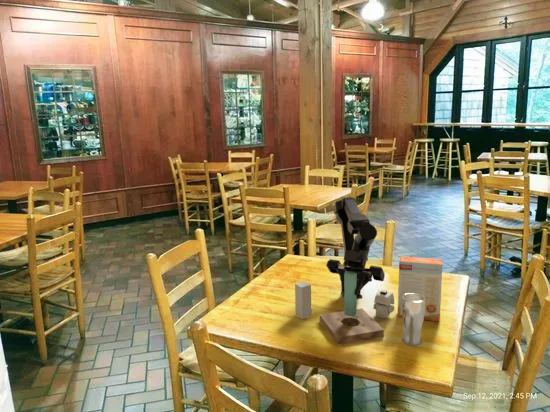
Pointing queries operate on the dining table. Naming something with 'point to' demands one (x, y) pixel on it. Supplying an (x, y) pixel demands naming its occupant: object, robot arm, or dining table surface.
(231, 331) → the dining table surface
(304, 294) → the square dowel
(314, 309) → the dining table surface
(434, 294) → the cracker box
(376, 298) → the white blocky figure
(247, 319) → the dining table surface
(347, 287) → the round dowel
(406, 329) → the beer glass
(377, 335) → the socket board
